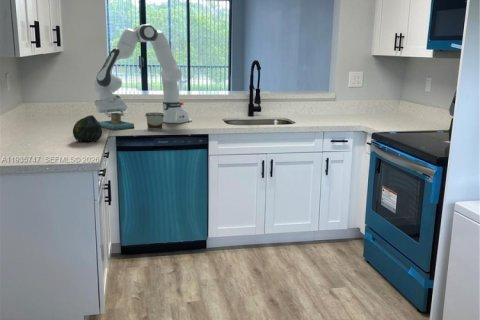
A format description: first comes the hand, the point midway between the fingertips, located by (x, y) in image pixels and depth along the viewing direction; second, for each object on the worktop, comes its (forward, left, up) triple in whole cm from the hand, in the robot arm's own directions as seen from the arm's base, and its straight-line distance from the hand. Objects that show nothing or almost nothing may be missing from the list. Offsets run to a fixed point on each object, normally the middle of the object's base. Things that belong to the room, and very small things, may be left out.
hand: (116, 116), depth 298 cm
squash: (+37, +33, -7) cm, 50 cm away
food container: (-18, +19, -7) cm, 27 cm away
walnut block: (0, 0, -6) cm, 6 cm away
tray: (0, 0, -7) cm, 7 cm away
